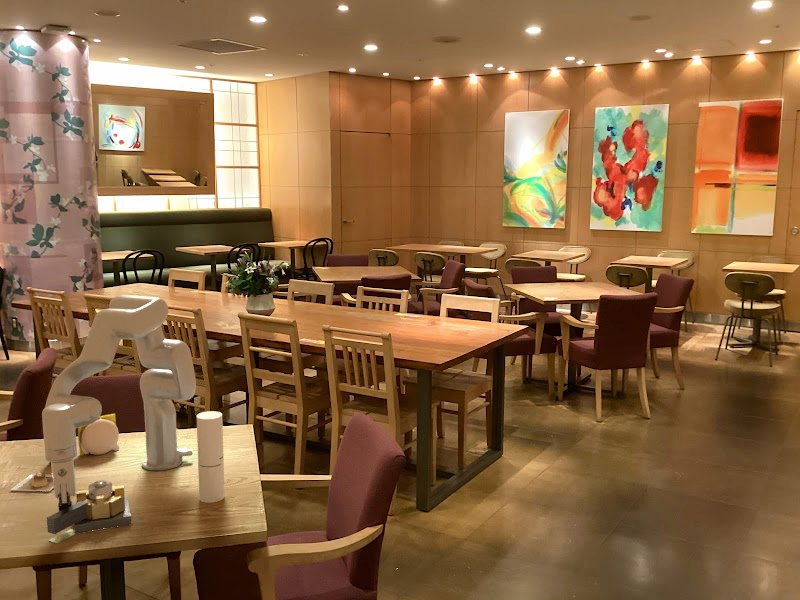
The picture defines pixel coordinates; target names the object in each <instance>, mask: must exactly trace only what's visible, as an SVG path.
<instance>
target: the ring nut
mask: <svg viewBox="0 0 800 600" xmlns="http://www.w3.org/2000/svg"><path fill="white" fill-rule="evenodd" d="M112 492H113V497H111V498H109V499H107V500H104V494H102V495H97V498H96V500H97V501H92V500H89V491H88V489H83V490H76V495H75V496H76V502H75V503H72V505H71V506H69V507H67V508H65V509H63V510H61V511H59V510H58V511H57V512H55V513H53V514H51V515H49V516H47V517H46V525H47V527H46V528H47V533H49V534H51V535H52V534H53V535H56V534H58V533H60V532H62V531H64V530H66V529H67V528H69V527H71V526H74V524H76V523H77V522H79V521H81V520H83V519H85V518H87V519H92V518H93V519H99V518H107V517H110V516H114V515H116V514H118V513H119V512H121V511H123V510H124V509H125V496H126V495H125V485H124V484H122V485H112Z"/></svg>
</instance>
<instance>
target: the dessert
mask: <svg viewBox="0 0 800 600" xmlns="http://www.w3.org/2000/svg"><path fill="white" fill-rule="evenodd" d="M40 471H41V470H40ZM40 471H36V472H35V473H30V474H29V475H28V476H26V477H24V479H22V480H21V481H20V482H18V483H16V485H15V486H13V487H12V488H11V489H10V491H11V492H35V491H40V493H41V491H42V493H43V492H44V493H48V492H51V491H52V490H54V485H53V486H52V487H50V488H49V489H47V490H43V489H41V490H40V489H36V490H35V489H34V490H33V489H20V488H21V487H22V486H24V485H25V484H27V483H28V482H30V480H31V479H32V483H31V487H33V486H34V487H33V488H41V487H40V486H42V487H45V486H47V485H48V484H49V481H48V478H46V477H52V474H49V473H47V474H45V473H42V472H40ZM23 484H24V485H23ZM19 487H20V488H19ZM48 490H49V491H48Z"/></svg>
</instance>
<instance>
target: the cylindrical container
mask: <svg viewBox="0 0 800 600" xmlns="http://www.w3.org/2000/svg"><path fill="white" fill-rule="evenodd" d="M223 424H224V423H223V413H222V412H220V411H213V410H211V411H201V412H200V413H198V414H196V435H197V437H196V438H197V439H196V440H197V442H196V443H197V462H198V463H197V467H198V470H197V471H198V494H199V495H198V498H199V501H200V500H201V502H202V503H209V504H210V503H211V504H212V503H218V502H220V501H222V500H224V498H225V495H226V494H225V493H226V492H225V465H224V434H223V433H224V430H223V429H224V428H223V427H224V426H223Z"/></svg>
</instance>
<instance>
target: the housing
mask: <svg viewBox="0 0 800 600" xmlns="http://www.w3.org/2000/svg"><path fill="white" fill-rule="evenodd" d="M112 486H113V483H112V482H110V481H107V480H97V481H94V482H93V483H90V484H89V485H88V486H87V487H88V491H89V500H92V501H97V500H96V498H97V495H102V494H104V500H107V499H109V498H111V497H113V492H112ZM124 496H125V509H124V510H123V511H121V512H119V513H118V514H116V515H114V516H110V517H107V518H99V519H93V518H92V519H87V518H85V519H83V520H81V521H79V522H77V523H76V524H74V525H73V526H74V527H73V528H74V529H73V528H70V529H68V530H66V531H64V532H62V533H60V534H58V535H56V536H53V537H52V538H50V539H48V542H49V543H52V544H55V545H58V544H60V543H62V542H64V541H66V540H69V539H70V538H72V537H74V536H76V535H79V533H80V534H84V533H83V532H86V533H89V532H88V531H92V530H98V529H103V528H110V529H112V528H111V527H115V528H118V527H117V526H121V527H125V526H124V525H127V526H130V525H129V524H132V514H131V510H130V506H129V505H130V504H129V501H128V495H124ZM98 531H99V530H98ZM92 532H93V531H92Z"/></svg>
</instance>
